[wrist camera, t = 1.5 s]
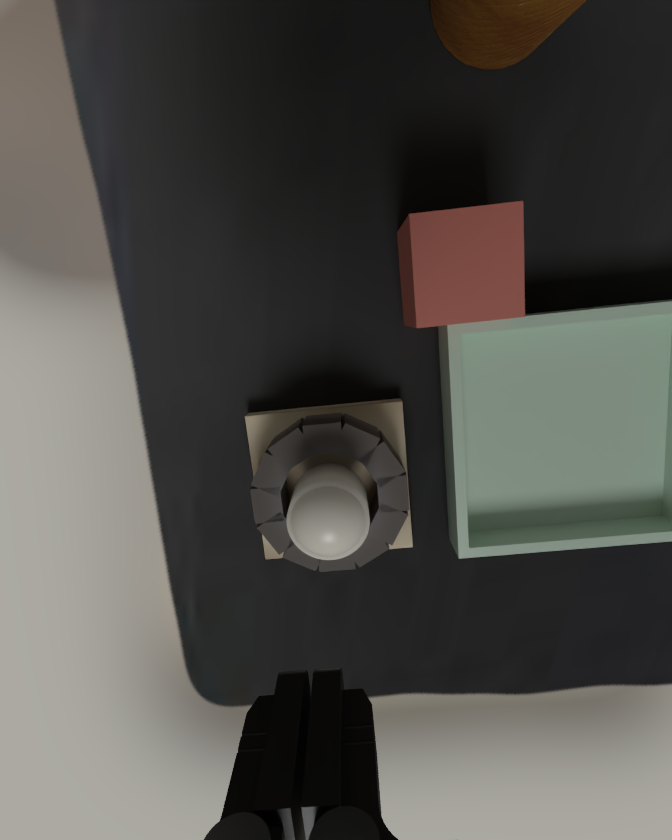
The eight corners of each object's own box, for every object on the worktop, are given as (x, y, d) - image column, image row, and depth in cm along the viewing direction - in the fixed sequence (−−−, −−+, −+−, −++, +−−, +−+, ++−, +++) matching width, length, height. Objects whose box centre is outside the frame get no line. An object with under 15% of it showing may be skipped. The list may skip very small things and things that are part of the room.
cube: (396, 232, 26) (409, 214, 21) (489, 222, 26) (523, 200, 21) (403, 325, 27) (416, 328, 22) (492, 316, 27) (525, 316, 22)
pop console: (248, 412, 28) (234, 426, 25) (400, 398, 28) (407, 410, 24) (268, 551, 30) (258, 581, 27) (410, 539, 30) (419, 568, 26)
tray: (437, 323, 27) (447, 323, 24) (677, 298, 26) (712, 296, 24) (449, 537, 30) (458, 558, 27) (665, 519, 29) (695, 539, 27)
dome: (288, 466, 25) (278, 496, 21) (363, 459, 25) (367, 488, 21) (297, 535, 26) (288, 576, 22) (369, 529, 26) (374, 569, 22)
